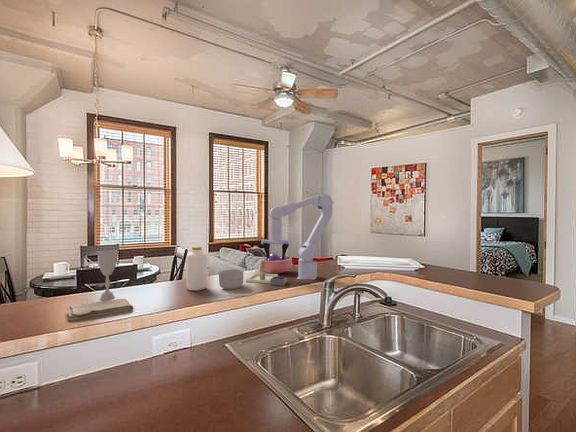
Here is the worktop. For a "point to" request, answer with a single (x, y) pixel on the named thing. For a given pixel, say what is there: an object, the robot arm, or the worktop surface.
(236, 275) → the teacup
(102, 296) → the chalice
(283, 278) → the grey square box
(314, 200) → the robot arm
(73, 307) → the washcloth
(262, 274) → the dowel
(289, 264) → the cell model
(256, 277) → the tray
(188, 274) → the potion bottle
